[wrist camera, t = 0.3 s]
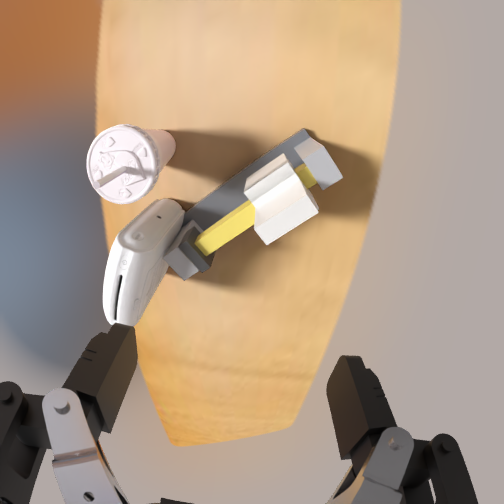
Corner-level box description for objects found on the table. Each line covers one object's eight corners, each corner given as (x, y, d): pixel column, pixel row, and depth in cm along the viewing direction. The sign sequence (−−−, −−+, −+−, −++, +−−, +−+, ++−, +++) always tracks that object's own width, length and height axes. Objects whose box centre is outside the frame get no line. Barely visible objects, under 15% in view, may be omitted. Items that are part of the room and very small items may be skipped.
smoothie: (173, 184, 30) (116, 243, 18) (124, 160, 29) (46, 204, 16) (198, 132, 27) (148, 156, 15) (146, 108, 26) (67, 119, 14)
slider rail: (303, 128, 27) (318, 136, 20) (329, 167, 29) (351, 189, 22) (176, 219, 32) (153, 253, 25) (204, 250, 34) (189, 291, 27)
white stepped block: (283, 153, 24) (293, 175, 17) (310, 192, 26) (330, 230, 18) (246, 178, 25) (239, 211, 18) (275, 215, 27) (279, 261, 20)
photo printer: (156, 191, 30) (100, 240, 20) (191, 205, 31) (149, 262, 20) (137, 263, 35) (92, 327, 24) (167, 276, 36) (131, 345, 25)
